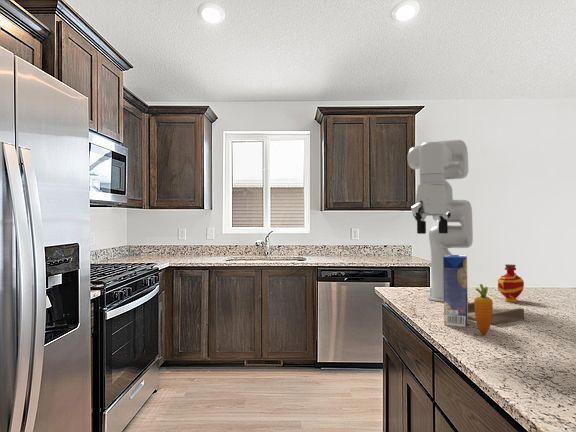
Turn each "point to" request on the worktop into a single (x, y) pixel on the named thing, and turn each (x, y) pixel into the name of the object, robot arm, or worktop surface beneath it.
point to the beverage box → (455, 290)
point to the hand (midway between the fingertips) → (432, 233)
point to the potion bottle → (510, 284)
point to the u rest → (498, 315)
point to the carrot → (483, 310)
